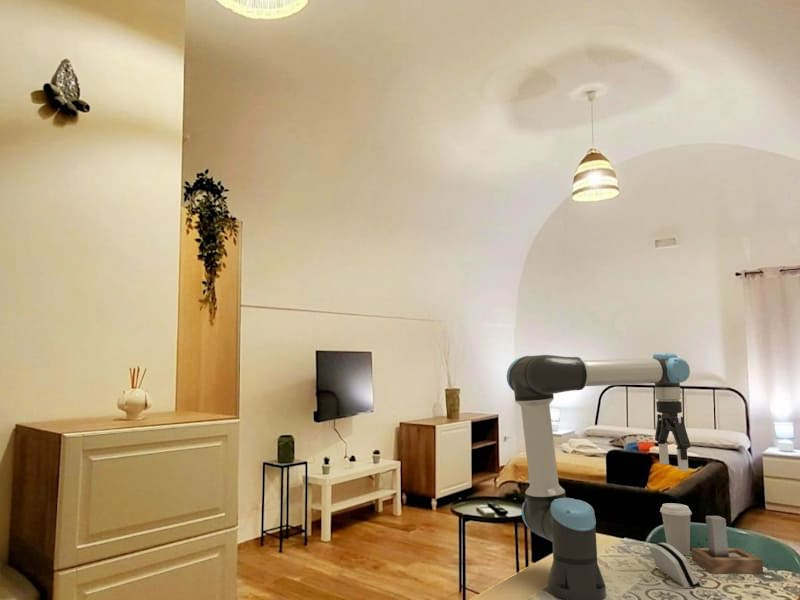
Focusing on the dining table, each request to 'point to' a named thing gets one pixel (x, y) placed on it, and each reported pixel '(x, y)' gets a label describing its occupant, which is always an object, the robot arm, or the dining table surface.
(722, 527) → the bracket
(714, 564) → the frame
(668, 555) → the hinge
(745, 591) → the dining table surface
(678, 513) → the coffee cup
